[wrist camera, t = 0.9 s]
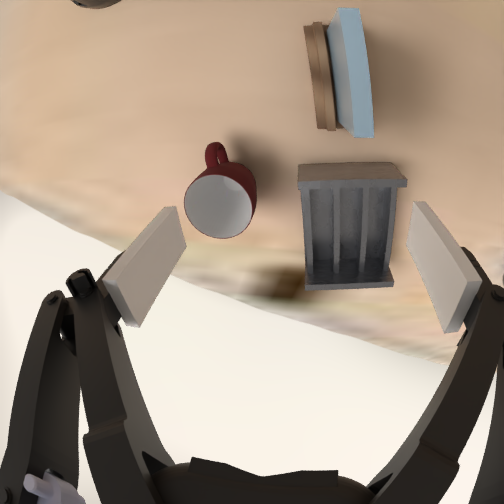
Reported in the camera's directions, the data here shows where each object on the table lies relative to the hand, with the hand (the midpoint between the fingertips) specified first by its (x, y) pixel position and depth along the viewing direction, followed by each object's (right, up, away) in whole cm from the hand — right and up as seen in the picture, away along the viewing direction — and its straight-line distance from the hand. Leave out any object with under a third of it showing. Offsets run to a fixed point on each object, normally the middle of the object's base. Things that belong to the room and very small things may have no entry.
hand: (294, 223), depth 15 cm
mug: (-5, +10, +24) cm, 26 cm away
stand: (+9, +20, +14) cm, 26 cm away
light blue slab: (+8, +20, +13) cm, 25 cm away
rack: (+12, +4, +25) cm, 27 cm away
